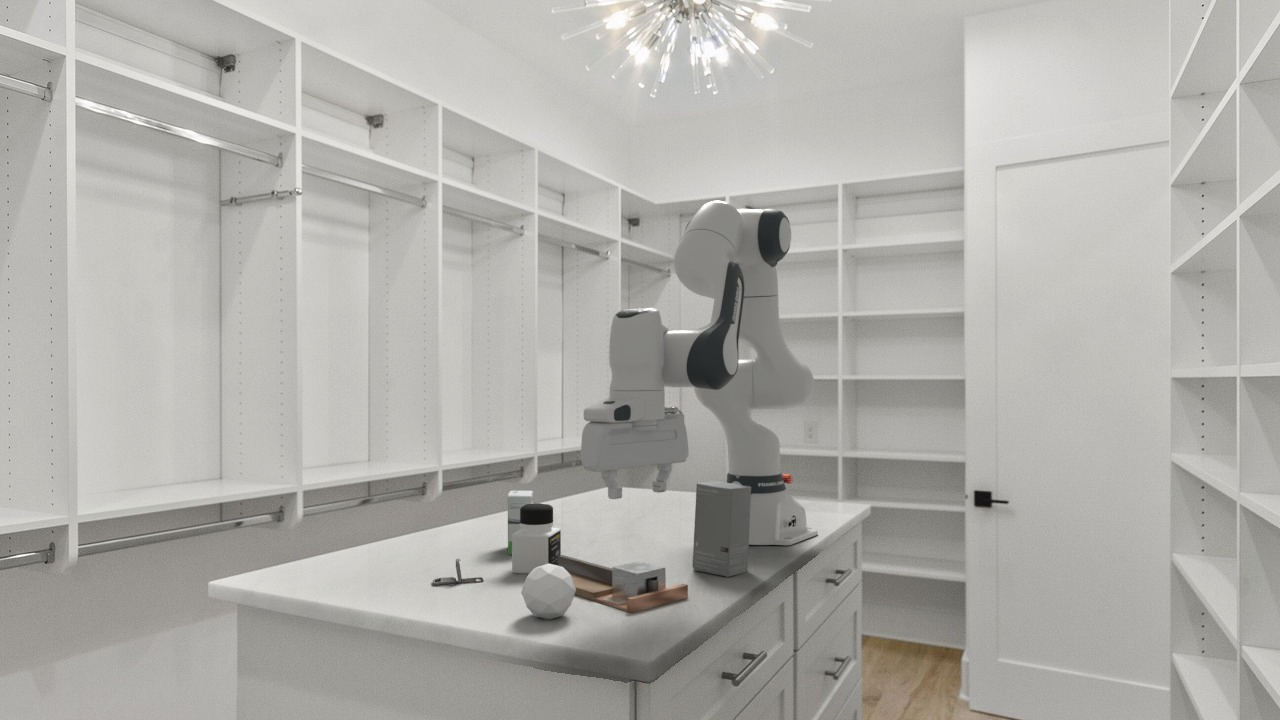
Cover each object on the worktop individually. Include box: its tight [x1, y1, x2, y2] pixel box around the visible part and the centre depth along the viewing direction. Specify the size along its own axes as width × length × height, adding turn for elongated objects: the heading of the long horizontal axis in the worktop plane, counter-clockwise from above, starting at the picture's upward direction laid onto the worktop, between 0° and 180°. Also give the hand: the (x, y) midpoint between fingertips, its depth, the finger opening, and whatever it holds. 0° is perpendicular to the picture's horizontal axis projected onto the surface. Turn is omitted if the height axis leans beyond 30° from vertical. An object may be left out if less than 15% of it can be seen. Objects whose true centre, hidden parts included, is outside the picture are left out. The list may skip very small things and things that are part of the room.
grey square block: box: [611, 560, 667, 600], centre depth 125 cm, size 6×6×4 cm
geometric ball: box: [521, 563, 576, 620], centre depth 116 cm, size 8×8×8 cm
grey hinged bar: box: [432, 558, 485, 587], centre depth 136 cm, size 8×3×4 cm, turn 108°
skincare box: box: [692, 481, 751, 578], centre depth 143 cm, size 8×7×16 cm
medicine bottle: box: [511, 502, 562, 575], centre depth 145 cm, size 7×7×12 cm
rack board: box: [558, 554, 689, 614], centre depth 131 cm, size 12×26×3 cm, turn 42°
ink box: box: [507, 490, 534, 555], centre depth 161 cm, size 9×5×12 cm, turn 6°
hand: (637, 495), depth 126 cm, fingers open, 8 cm apart
